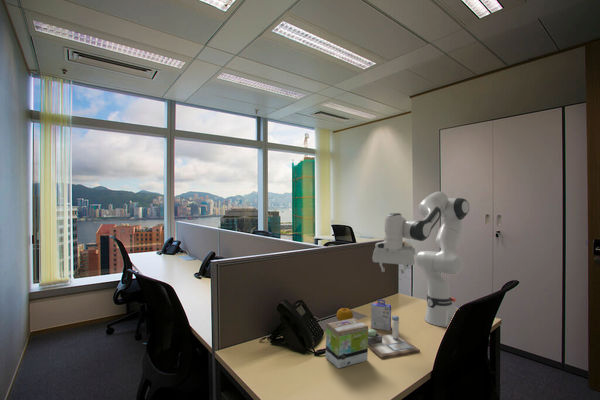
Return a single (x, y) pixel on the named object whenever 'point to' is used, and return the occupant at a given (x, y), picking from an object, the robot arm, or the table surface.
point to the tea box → (346, 342)
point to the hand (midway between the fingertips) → (392, 272)
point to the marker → (395, 327)
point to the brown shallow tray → (390, 346)
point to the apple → (344, 314)
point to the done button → (371, 332)
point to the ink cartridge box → (381, 315)
